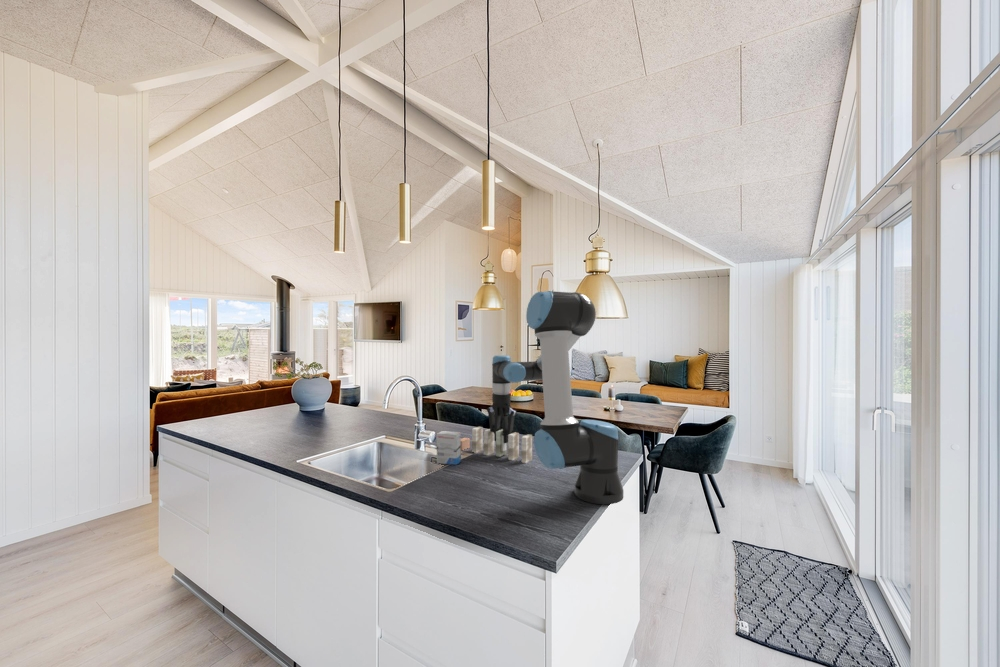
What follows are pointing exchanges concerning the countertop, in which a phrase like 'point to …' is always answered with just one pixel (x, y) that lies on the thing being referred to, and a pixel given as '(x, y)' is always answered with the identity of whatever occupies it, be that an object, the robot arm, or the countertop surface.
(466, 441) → the end stop
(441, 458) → the ink box
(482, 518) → the countertop surface
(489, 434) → the domino
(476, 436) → the domino
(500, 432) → the domino
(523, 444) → the domino
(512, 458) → the domino
